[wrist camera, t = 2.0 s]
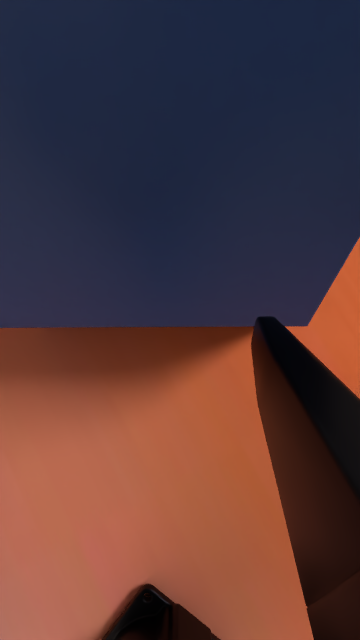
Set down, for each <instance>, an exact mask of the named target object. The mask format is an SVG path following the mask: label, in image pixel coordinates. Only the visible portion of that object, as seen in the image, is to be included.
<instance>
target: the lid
mask: <svg viewBox="0 0 360 640" xmlns="http://www.w3.org/2000/svg"><path fill="white" fill-rule="evenodd" d="M359 237H360V0H0V328H48V327H250V326H255V321H256V319H257V317H259V316H273V317H275V318H276V319H277V320H278V321H279V322H280V323H281V324H282V325H284V326H308V324H309V322H310V320H311V319H312V317H313V315H314V314H315V312H316V310H317V309H318V307H319V305H320V303H321V302H322V300H323V298H324V297H325V295H326V293H327V292H328V290H329V288H330V286H331V285H332V283H333V281H334V280H335V278H336V276H337V275H338V273H339V271H340V269H341V268H342V266H343V264H344V263H345V261H346V259H347V258H348V256H349V254H350V252H351V251H352V249H353V247H354V246H355V244H356V242H357V241H358V239H359Z"/></svg>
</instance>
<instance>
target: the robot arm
mask: <svg viewBox="0 0 360 640" xmlns="http://www.w3.org/2000/svg"><path fill="white" fill-rule="evenodd" d="M251 349H252V358H253V367H254V376H255V385H256V394H257V401H258V407H259V412H260V416H261V420H262V424H263V428H264V433H265V437H266V441H267V445H268V449H269V453H270V458H271V462H272V466H273V470H274V474H275V478H276V483H277V487H278V491H279V495H280V499H281V503H282V508H283V512H284V516H285V520H286V524H287V528H288V533H289V537H290V541H291V545H292V549H293V553H294V558H295V562H296V566H297V570H298V574H299V578H300V583H301V587H302V591H303V595H304V599H305V603H306V606H307V607H308V608H307V613H308V617H309V621H310V625H311V629H312V633H313V638H314V640H360V399H359V398H358V397H357V396H356V395H355V394H354V393H353V392H352V391H351V390H350V389H349V388H348V387H347V386H346V385H345V384H344V383H343V382H342V381H340V380H339V379H338V378H337V377H336V376H335V375H334V374H333V373H332V372H331V371H330V370H329V369H328V368H327V367H326V366H325V365H324V364H323V363H322V362H321V361H320V360H319V359H318V358H317V357H316V356H315V355H314V354H313V353H311V352H310V351H309V350H308V349H307V348H306V347H305V346H304V345H303V344H302V343H301V342H300V341H299V340H298V339H297V338H296V337H295V336H294V335H293V334H292V333H291V332H290V331H289V330H288V329H287V328H286V327H285V326H284V325H282V324H281V323H280V322H279V321H278V320H277V319H276V318H275V317H273V316H259V317H257V319H256V321H255V326H254V331H253V336H252V342H251ZM145 593H149V594H151V596H150V597H146V596H145V595H144V594H145ZM102 640H220V639H219V638H217V637H216V636H215V635H214V634H212V633H211V630H210V629H209V628H208V627H207V626H206V625H204V624H203V623H202V622H201V621H200V620H198V619H197V618H196V617H195V616H193V615H192V614H191V613H190V612H188V611H187V610H186V609H185V608H183V607H182V606H181V605H180V604H176V603H174V602H173V601H171V600H170V599H169V598H168V597H167V596H165V595H164V594H163V593H162V592H160V591H159V590H158V589H157V588H155V587H154V586H153V585H151V584H145V585H143V586H142V587H141V589H140V590H139V591H138V593H137V594H136V595H135V597H134V598H133V599H132V601H131V602H130V603H129V605H128V606H127V607H126V609H125V610H124V611H123V613H122V614H121V615H120V617H119V618H118V619H117V621H116V622H115V623H114V625H113V626H112V627H111V629H110V630H109V631H108V633H107V634H106V635H105V637H104V638H103V639H102Z"/></svg>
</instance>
